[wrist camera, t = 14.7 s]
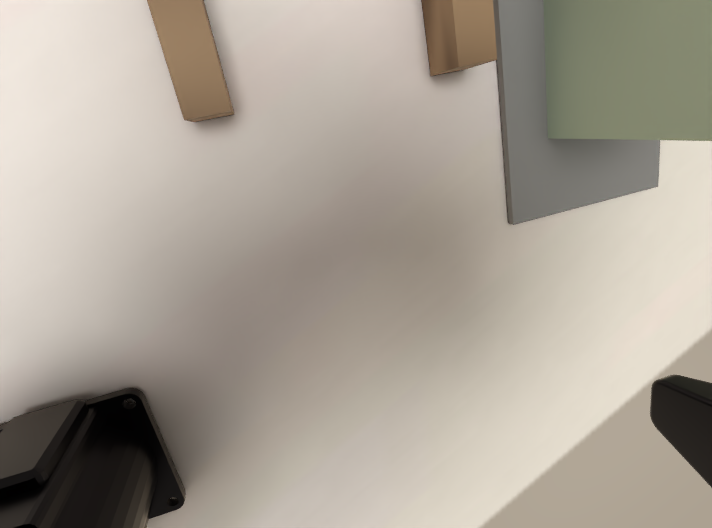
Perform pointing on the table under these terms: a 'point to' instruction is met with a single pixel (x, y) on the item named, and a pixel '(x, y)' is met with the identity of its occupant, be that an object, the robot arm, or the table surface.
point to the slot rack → (205, 75)
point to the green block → (629, 69)
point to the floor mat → (530, 132)
